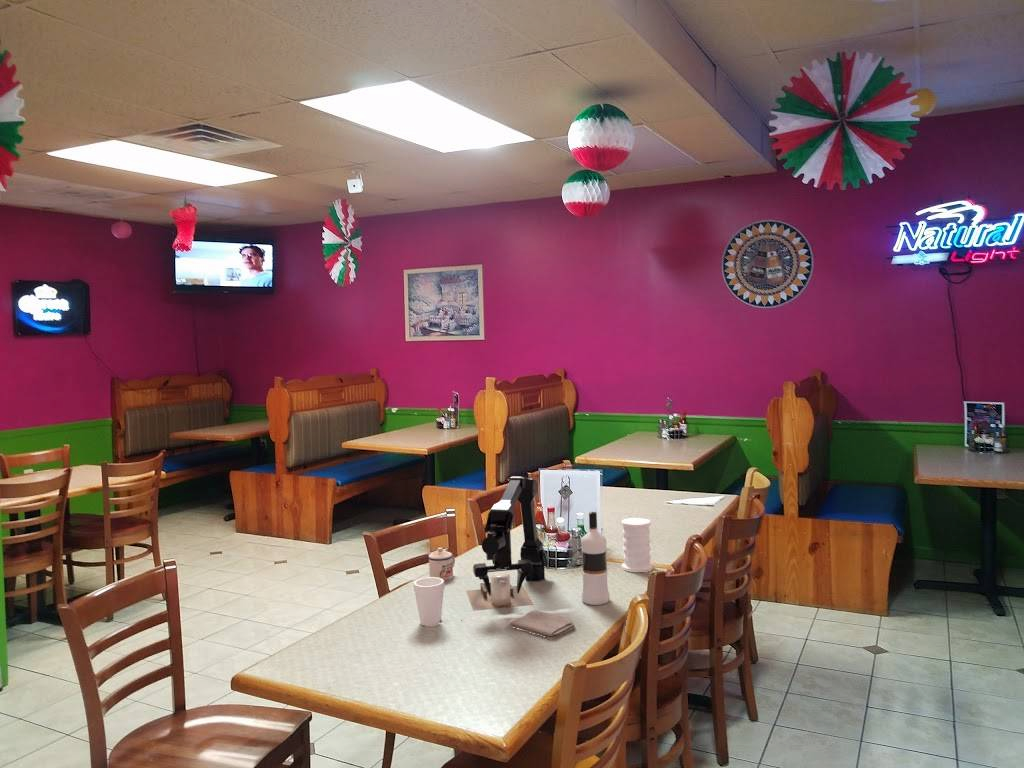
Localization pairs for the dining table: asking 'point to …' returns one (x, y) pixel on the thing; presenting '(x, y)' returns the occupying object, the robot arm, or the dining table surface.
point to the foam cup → (429, 599)
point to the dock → (483, 600)
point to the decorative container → (636, 545)
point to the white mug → (500, 589)
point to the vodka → (594, 565)
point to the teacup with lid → (441, 564)
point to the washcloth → (543, 624)
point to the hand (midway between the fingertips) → (503, 594)
